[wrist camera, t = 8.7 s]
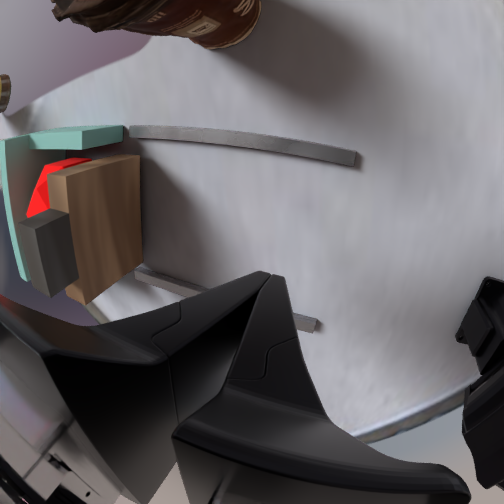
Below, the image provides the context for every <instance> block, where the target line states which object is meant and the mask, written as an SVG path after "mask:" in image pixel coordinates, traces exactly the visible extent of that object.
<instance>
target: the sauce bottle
mask: <svg viewBox="0 0 504 504" xmlns="http://www.w3.org/2000/svg"><path fill="white" fill-rule="evenodd" d="M10 94H11V82H10V78H9V76H8V75H6V74H3V75H0V113H1V112H4V111H5V110H6V108H7V105H8V103H9V99H10Z"/></svg>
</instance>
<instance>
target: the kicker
mask: <svg viewBox="0 0 504 504" xmlns="http://www.w3.org/2000/svg"><path fill="white" fill-rule="evenodd" d="M47 183H48V193H49V202H50V209H47V210H45V211H43V212H40V213H38V214H36V215H34V216H31V217H29V218H27V219H25V220H23V221H21V222H18V225H19V231H20V236H21V240H22V245H23V250H24V254H25V258H26V262H27V266H28V270H29V274H30V278H31V281H32V285H33V287H34V288H35V289H37V290H39V291H40V292H42V293H44V294H45V295H47V296H48V297H50V298H52V297H53V296H54V295H56V294H57V293H59V292H60V291H61V290H63V289H64V288H65V289H66V293H67V296H69V297H70V298H73V299H74V300H76V301H78V302H80V303H82V304H84V305H87V304H88V303H89V302H91V301H92V300H93V299H95V298H96V297H97V296H98V295H100V294H101V293H102V292H104V291H105V290H106V289H108V288H109V287H110V286H112V285H113V284H114V283H115V282H117V281H118V280H119V279H121V278H122V277H123V276H125V275H126V274H127V273H129V272H130V271H131V270H133V269H134V268H136V267H137V266H138V265H140V264H141V263H142V262H143V251H142V235H141V212H140V156H138V155H126V154H118V155H113V156H109V157H105V158H101V159H97V160H94V161H90V162H86V163H82V164H79V165H75V166H72V167H68V168H65V169H62V170H59V171H55V172H52V173H49V174H47Z"/></svg>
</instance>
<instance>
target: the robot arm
mask: <svg viewBox="0 0 504 504" xmlns="http://www.w3.org/2000/svg"><path fill="white" fill-rule="evenodd" d="M487 282H489V284H488V285H486V284H487ZM460 336H462V337H460ZM459 337H460V338H459ZM455 338H456V341H457V342H458V343H464V344H468V345H469V348H470V351H471V354H472V356H474V357H475V359H476V362H477V365H478V368H479V371H480V374H481V375H482V376H481V377H480V378H479V379H478V380H477V381H476V382H474V383H473V384H472V385H469V386H468V387H467V388H466V389H465V398H464V410H463V420H462V434H463V436H464V439H465V441H466V444H467V445H468V447H469V449H470V451H471V453H472V456H473V459H474V464H475V470H476V477H477V481H478V482H479V483H480V484H481V485H482V486H483V487H484V488H485V489H489V488H491V487H492V486H494V485H496V486H498V487H499V488H501V489H502V490H504V281H503V280H500V279H496V278H493V277H489V276H488V277H485V278H484V280H483V281H482V284H481V286H480V288H479V290H478V292H477V294H476V297H475V299H474V300H473V301H472V303H471V305H470V307H469V309H468V311H467V313H466V315H465V317H464V319H463V321H462V323H461V326H460V328H459V330H458V332H457V333H456V336H455ZM176 462H177V463H178V467H179V470H180V474H181V477H182V480H183V484H184V487H185V490H186V493H187V496H188V499H189V503H190V504H469V502H470V500H471V494H470V491H469V488H468V486H467V484H466V483H465V482H464V480H463V479H462V478H461V477H460V476H459V475H458V474H456V473H454V472H453V471H452V470H450V469H449V468H447V467H446V466H443V465H440V464H433V463H416V462H407V461H402V460H398V459H395V458H392V457H389V456H387V455H384V454H382V453H380V452H378V451H377V450H375V449H373V448H372V447H370V446H368V445H367V444H365V443H363V442H362V441H360V440H358V439H357V438H355V437H353V436H352V435H350V434H349V433H347V432H345V431H344V430H342V429H341V428H339V427H338V426H336V425H335V424H334V423H333V422H332V421H331V420H330V419H329V417H328V416H327V414H326V412H325V410H324V408H323V406H322V403H321V401H320V398H319V396H318V394H317V391H316V389H315V386H314V384H313V382H312V379H311V377H310V374H309V372H308V369H307V366H306V364H305V361H304V358H303V354H302V350H301V347H300V342H299V339H298V333H297V329H296V324H295V320H294V315H293V311H292V307H291V302H290V298H289V293H288V289H287V285H286V280H285V278H284V277H283V276H279V275H275V274H273V275H271V274H270V273H267V272H263V271H256V272H254V273H251V274H249V275H246V276H244V277H241V278H238V279H236V280H233V281H231V282H228V283H226V284H223V285H220V286H218V287H215V288H213V289H210V290H207V291H205V292H202V293H199V294H197V295H194V296H192V297H189V298H186V299H184V300H181V301H179V302H175V303H173V304H170V305H167V306H165V307H162V308H159V309H156V310H153V311H149V312H146V313H143V314H139V315H135V316H132V317H128V318H124V319H120V320H116V321H113V322H109V323H105V324H101V325H97V326H79V325H74V324H71V323H68V322H65V321H62V320H60V319H57V318H54V317H51V316H48V315H46V314H43V313H41V312H38V311H35V310H33V309H30V308H28V307H25V306H23V305H20V304H18V303H16V302H14V301H12V300H10V299H8V298H6V297H4V296H2V295H0V504H27V503H26V502H28V503H29V504H114V503H115V502H116V500H117V499H118V497H119V496H120V494H121V495H123V496H124V497H126V498H128V499H130V500H131V501H133V502H135V503H137V504H148V503H149V501H150V500H151V498H152V497H153V496H154V494H155V493H156V491H157V490H158V488H159V487H160V485H161V484H162V483H163V481H164V479H165V478H166V477H167V475H168V474H169V472H170V471H171V469H172V468H173V466H174V465H175V463H176ZM22 498H23V499H25V501H26V502H25V501H23V500H22Z"/></svg>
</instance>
